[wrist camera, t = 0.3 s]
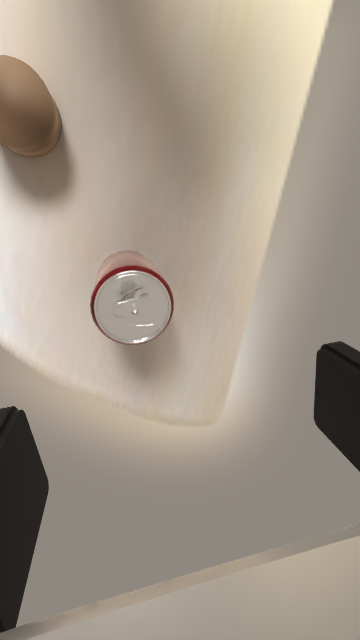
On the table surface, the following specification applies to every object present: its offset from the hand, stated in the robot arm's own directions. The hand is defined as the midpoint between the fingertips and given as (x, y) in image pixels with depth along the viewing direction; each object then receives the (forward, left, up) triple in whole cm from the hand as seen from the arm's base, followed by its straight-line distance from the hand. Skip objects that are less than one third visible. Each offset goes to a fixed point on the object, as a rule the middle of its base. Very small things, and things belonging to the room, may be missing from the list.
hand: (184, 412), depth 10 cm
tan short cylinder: (-6, -17, -30) cm, 34 cm away
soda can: (+2, 0, -30) cm, 30 cm away
